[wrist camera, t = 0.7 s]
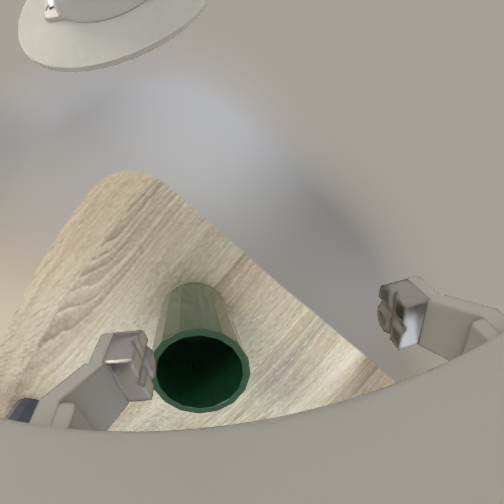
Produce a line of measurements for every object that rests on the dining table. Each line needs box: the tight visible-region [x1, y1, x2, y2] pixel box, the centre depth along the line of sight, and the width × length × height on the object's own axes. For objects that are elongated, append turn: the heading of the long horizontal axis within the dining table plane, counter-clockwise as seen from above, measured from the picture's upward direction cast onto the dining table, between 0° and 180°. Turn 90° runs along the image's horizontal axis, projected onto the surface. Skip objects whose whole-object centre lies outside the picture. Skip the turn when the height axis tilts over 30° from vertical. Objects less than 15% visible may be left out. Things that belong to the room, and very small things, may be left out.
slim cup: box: [152, 283, 250, 413], centre depth 24 cm, size 7×7×12 cm
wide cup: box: [5, 399, 39, 423], centre depth 25 cm, size 10×10×6 cm
